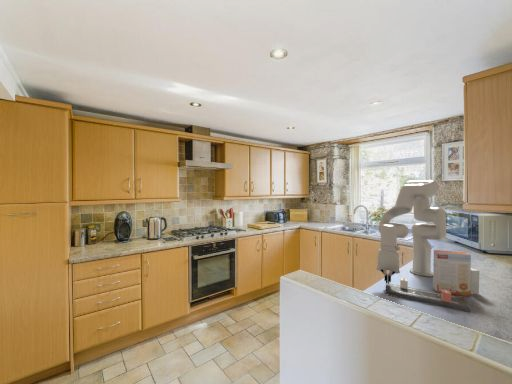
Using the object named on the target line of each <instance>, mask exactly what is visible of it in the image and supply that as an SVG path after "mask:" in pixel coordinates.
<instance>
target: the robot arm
mask: <svg viewBox="0 0 512 384" xmlns="http://www.w3.org/2000/svg"><path fill="white" fill-rule="evenodd" d="M439 189H440V185H439V183H438V181H436V180H433V179H429V180H426V179H424V180H423V179H422V180H421V179H420V180H419V179H417V180H416V179H415V180H407V181H406V182H404V184H403V185H402V186H401V187H400V190H399V192H398V196H397V198H396V201H395V204H394V206H392V207H390V208H389V209H388V210H387V211H386V212H384V213H383V215H382V216H381V219H380V222H379V224H378V232H379V234H380V248H379V249H378V251H377V262H376V266H377V267H376V270H377V271H379V272H381V273H382V274H383V275H384V282H385V284H386V283H388V284H390V283H391V282H392V276H393V275H396V274H397V275H398V274H400V272H401V271H400V253H399V250H400V249H401V247H400V246H398V239H404V238H406V237H408V236H409V233H410V231H409V228H408V226H407V225H405V224H404V223H403V224H402V223H395V222H391V220H393V219H394V218H396V217H399V216H403V215H405V214H409V213H411V212H412V211H413V218H414V219H415V221H418V222H416V223H414V224H413V225H412V226H411V235H412V267H411V268H410V269H409V272H410V273H412V274H413V275H417V276H420V277H433V271H432V244H431V243H430V242H429V240H431V241H436V242H442V241H445V240H446V238H447V215H446V212H445V210H444V208H442V207H438V206H431V203H430V200H431V199H430V198H432V197H433V196H435V195H436V194H438V192H439ZM431 223H432V224H431ZM387 271H389V273H387Z"/></svg>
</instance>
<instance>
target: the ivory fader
mask: <svg viewBox="0 0 512 384" xmlns="http://www.w3.org/2000/svg"><path fill="white" fill-rule="evenodd" d="M399 281H400V285H399V286H400V287H401V288H404V289H408V284H409V283H408V282H409V280H408V278H406V277H400V279H399Z"/></svg>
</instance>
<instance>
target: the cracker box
mask: <svg viewBox="0 0 512 384" xmlns="http://www.w3.org/2000/svg"><path fill="white" fill-rule="evenodd" d="M471 256H472V255H471V254H469V253H468V252H464V251H453V250H441V249H433V268H432V269H433V271H432V272H433V276H432V277H433V282H432V283H433V284H432V285H433V287H432V289H433V290H434V291H435V292H437V293H441V289H443V290H449V291H450V292H451V295H454V296H462V297H463V296H465V297H471V294H470V283H471V268H472V266H471V262H472V261H471V260H472V257H471Z"/></svg>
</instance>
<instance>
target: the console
mask: <svg viewBox="0 0 512 384" xmlns="http://www.w3.org/2000/svg"><path fill="white" fill-rule="evenodd" d="M386 294H388V295H387V296H391V295H392V296H391V297H395V298H399V299H404V300H405V299H407V300H411V301H415V302H421V303H425V304H430V305H435V306H440V307H445V308H449V309H455V310H460V311H464V312H469V313H470V312H471V307H470V304H469V303H468V302H467V300H466V299H465V297H463V296H460V295H454V294H451V303H450V302H445V301H442V299H441V293H438V292H437V291H430V290H425V289H420V288H414V287H408V289H404V288H401V287H400V285H398V284H392V283H389V284H388V282H387V283H386V282H385V295H386Z"/></svg>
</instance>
